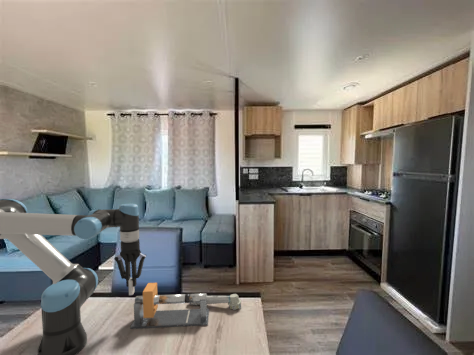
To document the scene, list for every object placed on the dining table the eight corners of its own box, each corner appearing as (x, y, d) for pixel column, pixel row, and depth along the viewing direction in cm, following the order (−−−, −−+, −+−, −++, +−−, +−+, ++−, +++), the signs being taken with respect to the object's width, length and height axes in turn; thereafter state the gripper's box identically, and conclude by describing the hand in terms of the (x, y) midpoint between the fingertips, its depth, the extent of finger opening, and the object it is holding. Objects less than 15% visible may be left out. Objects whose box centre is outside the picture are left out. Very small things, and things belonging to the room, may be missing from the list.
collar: (143, 318, 107) (142, 291, 106) (148, 307, 115) (148, 282, 114) (153, 317, 107) (152, 291, 107) (157, 307, 115) (157, 282, 114)
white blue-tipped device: (191, 293, 126) (240, 290, 122) (193, 306, 126) (242, 303, 122) (187, 299, 121) (239, 295, 117) (189, 312, 121) (241, 310, 117)
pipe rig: (130, 328, 105) (129, 303, 105) (138, 313, 116) (138, 290, 116) (207, 325, 107) (207, 300, 107) (209, 310, 118) (208, 287, 118)
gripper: (110, 243, 105) (112, 298, 106) (142, 242, 105) (144, 297, 107) (118, 237, 112) (119, 289, 113) (148, 237, 113) (149, 288, 114)
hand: (131, 293), depth 110 cm, fingers closed
